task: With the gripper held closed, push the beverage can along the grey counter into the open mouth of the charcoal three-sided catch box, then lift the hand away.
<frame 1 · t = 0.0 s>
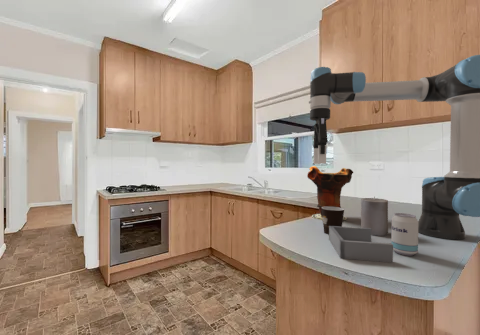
hand: (319, 163, 93), 28 cm above the countertop, tool pointing down, fingers open, 13 cm apart
coffee mug: (331, 232, 98), on the countertop
pillar candle: (373, 233, 98), on the countertop
decorative vase: (328, 217, 126), on the countertop
beverage can: (404, 253, 75), on the countertop
catch box: (356, 249, 77), on the countertop
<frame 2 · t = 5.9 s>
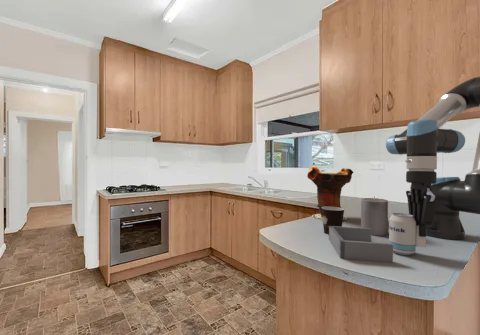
hand: (419, 246, 74), 3 cm above the countertop, tool pointing down, fingers closed
beverage can: (401, 253, 75), on the countertop, touching gripper
everything else where it was.
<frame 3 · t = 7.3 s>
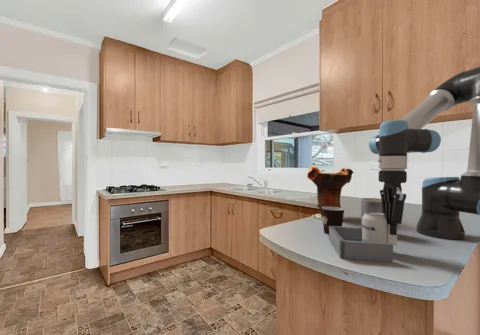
hand: (391, 244, 75), 3 cm above the countertop, tool pointing down, fingers closed
beverage can: (374, 251, 76), on the countertop, touching gripper
everything else where it was.
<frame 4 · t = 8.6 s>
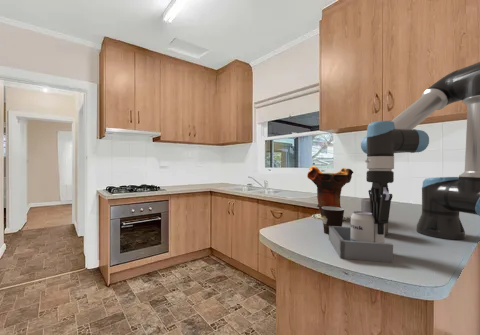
hand: (378, 243, 76), 2 cm above the countertop, tool pointing down, fingers closed
beverage can: (361, 250, 77), on the countertop, touching gripper
everything else where it was.
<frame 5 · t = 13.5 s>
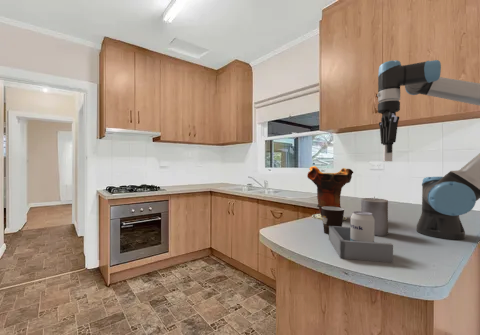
hand: (387, 161, 95), 29 cm above the countertop, tool pointing down, fingers closed
beverage can: (361, 250, 77), on the countertop
everything else where it was.
at the end: beverage can inside the target area on the catch box (2.7 cm from its centre), point 0.0 cm above the catch box's base; beverage can tilted 0°; beverage can moved 12.3 cm from its start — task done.
